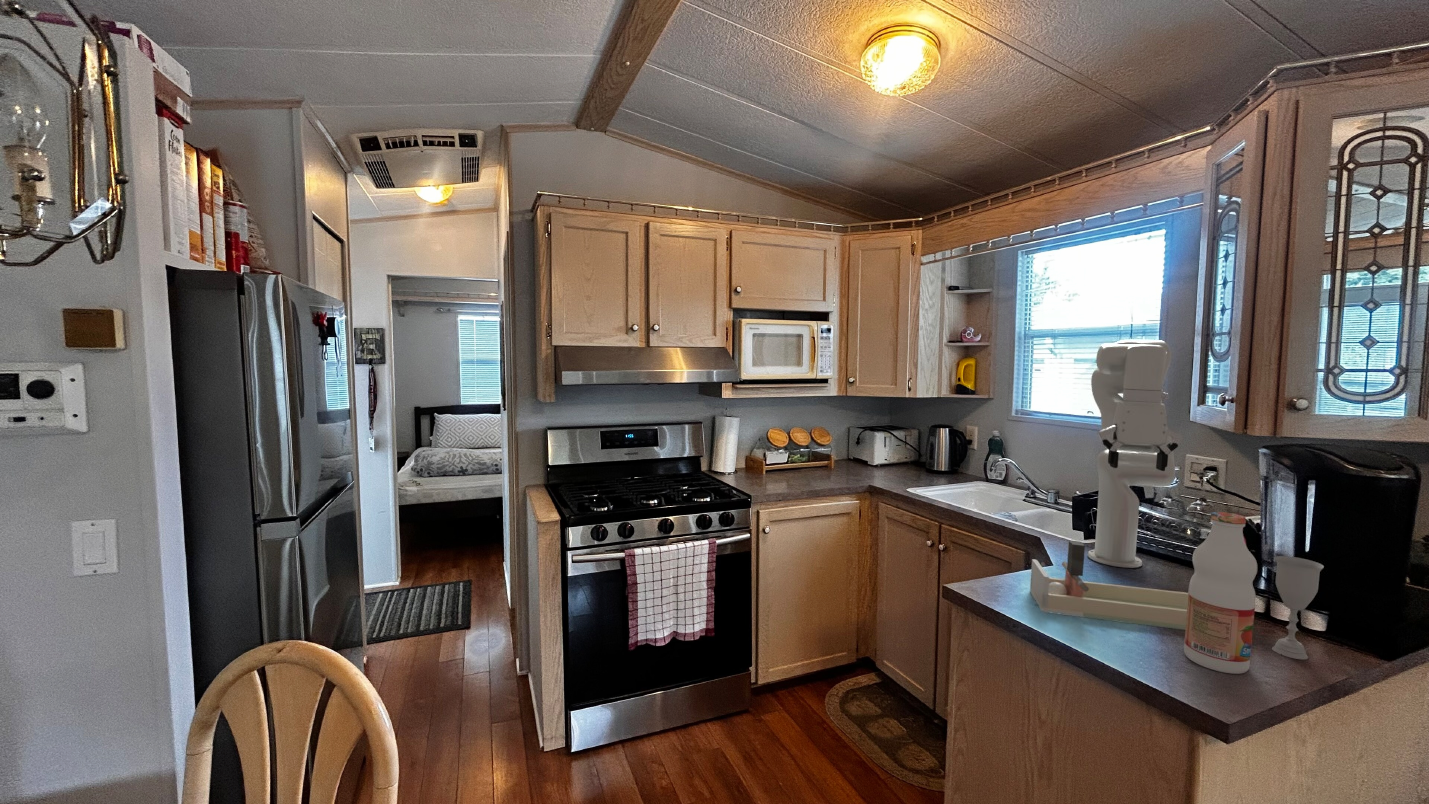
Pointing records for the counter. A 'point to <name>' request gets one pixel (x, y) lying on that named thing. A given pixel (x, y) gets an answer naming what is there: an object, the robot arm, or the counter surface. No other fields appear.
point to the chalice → (1295, 597)
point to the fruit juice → (1221, 598)
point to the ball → (1057, 588)
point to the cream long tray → (1112, 602)
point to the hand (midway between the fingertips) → (1136, 468)
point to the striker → (1075, 569)
